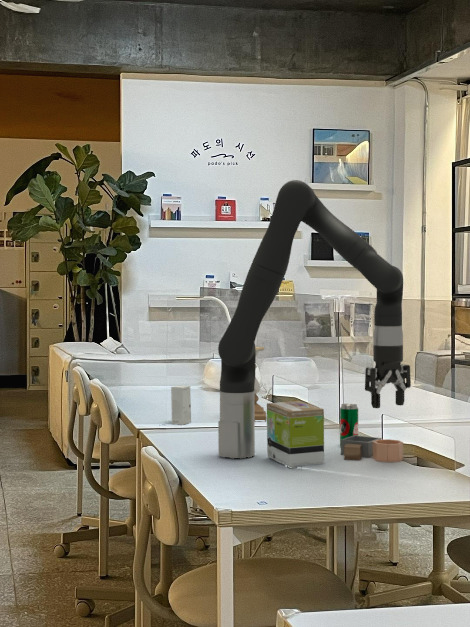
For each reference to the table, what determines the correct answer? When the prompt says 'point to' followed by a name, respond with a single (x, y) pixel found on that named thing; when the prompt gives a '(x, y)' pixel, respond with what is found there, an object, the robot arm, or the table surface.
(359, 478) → the table surface
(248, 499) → the table surface
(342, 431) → the soda can
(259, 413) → the candle holder
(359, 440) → the bin
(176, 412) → the skincare box
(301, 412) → the tea box
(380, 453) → the bowl
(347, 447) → the walnut block
